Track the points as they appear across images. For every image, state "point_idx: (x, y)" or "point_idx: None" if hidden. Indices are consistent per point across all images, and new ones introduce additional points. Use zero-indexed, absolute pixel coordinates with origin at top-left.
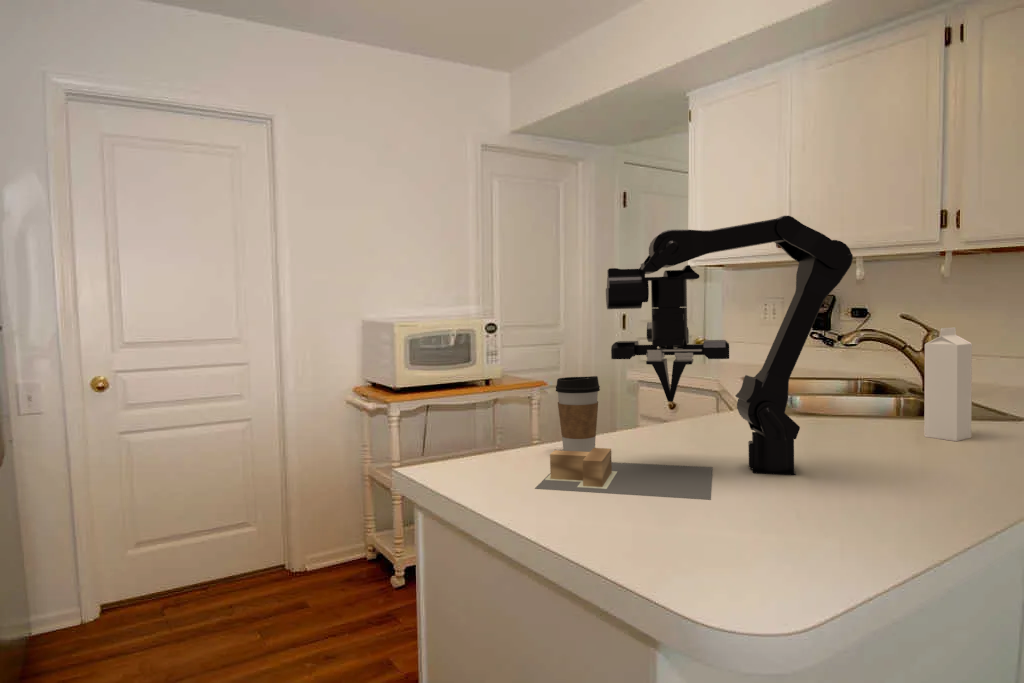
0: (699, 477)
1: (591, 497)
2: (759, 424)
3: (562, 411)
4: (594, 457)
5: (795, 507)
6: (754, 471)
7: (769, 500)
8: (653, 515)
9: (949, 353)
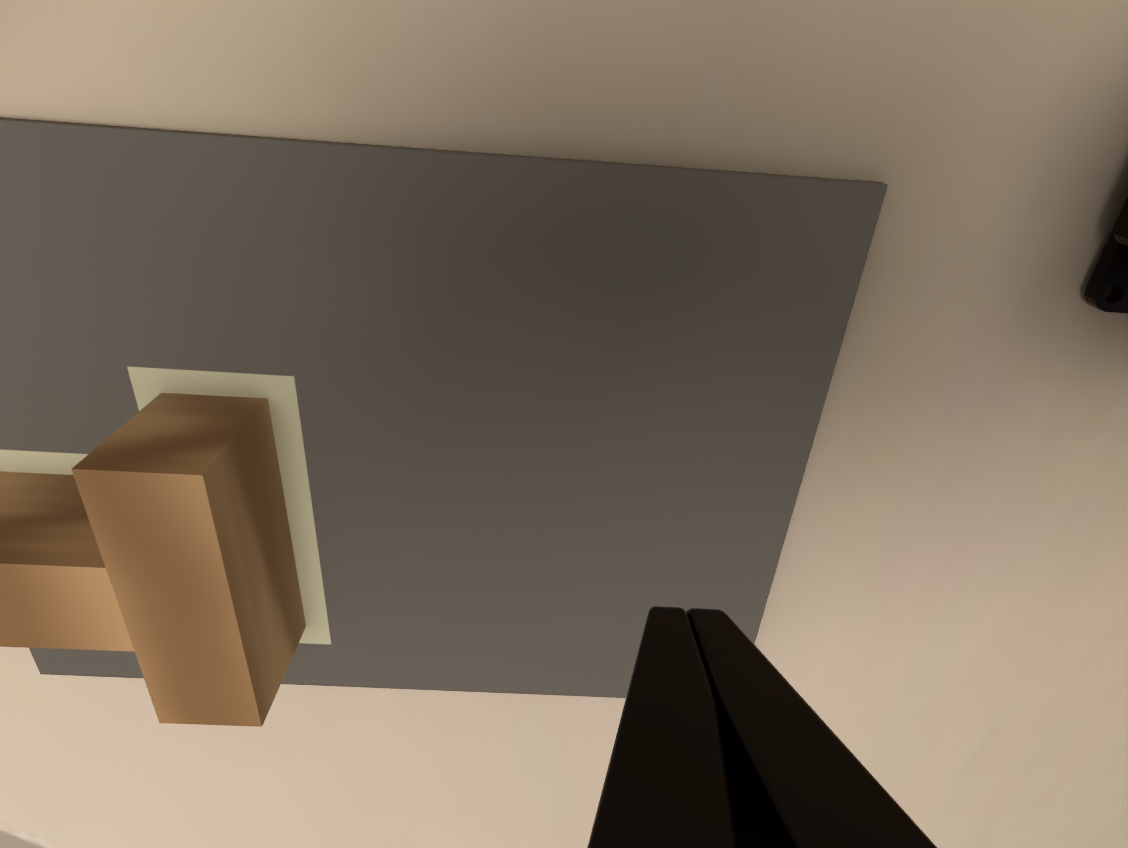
0: (750, 435)
1: (299, 695)
2: None
3: None
4: (193, 671)
5: (1012, 698)
6: (1103, 300)
7: (958, 648)
8: (539, 800)
9: None
